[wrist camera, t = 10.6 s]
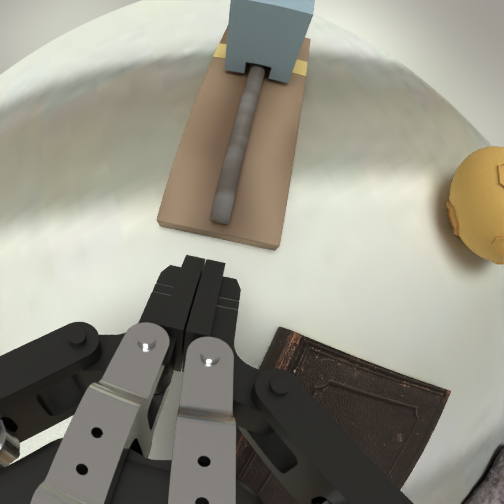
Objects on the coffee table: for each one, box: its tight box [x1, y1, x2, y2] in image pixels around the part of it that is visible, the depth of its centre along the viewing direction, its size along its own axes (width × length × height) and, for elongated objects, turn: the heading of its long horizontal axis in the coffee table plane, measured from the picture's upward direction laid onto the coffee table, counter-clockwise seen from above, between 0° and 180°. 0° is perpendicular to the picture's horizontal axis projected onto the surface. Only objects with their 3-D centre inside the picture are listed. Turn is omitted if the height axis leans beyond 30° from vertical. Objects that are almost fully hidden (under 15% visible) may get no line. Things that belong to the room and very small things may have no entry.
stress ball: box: [446, 146, 504, 264], centre depth 19 cm, size 10×10×10 cm
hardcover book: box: [236, 327, 451, 504], centre depth 17 cm, size 16×23×2 cm
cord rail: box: [157, 27, 310, 250], centre depth 20 cm, size 8×21×5 cm, turn 169°
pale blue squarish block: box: [224, 0, 315, 83], centre depth 18 cm, size 5×4×7 cm
